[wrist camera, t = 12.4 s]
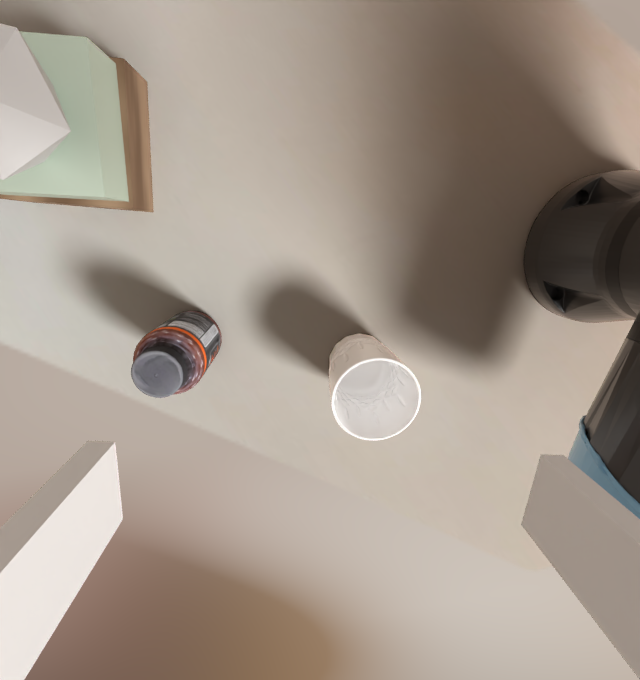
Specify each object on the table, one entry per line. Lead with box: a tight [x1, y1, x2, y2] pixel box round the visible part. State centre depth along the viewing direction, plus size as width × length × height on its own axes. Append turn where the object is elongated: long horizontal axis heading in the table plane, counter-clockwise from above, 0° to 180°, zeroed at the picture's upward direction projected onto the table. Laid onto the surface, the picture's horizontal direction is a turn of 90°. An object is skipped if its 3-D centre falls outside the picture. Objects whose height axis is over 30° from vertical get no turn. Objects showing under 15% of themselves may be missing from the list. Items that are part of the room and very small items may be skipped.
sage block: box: [0, 31, 129, 202], centre depth 27 cm, size 10×10×4 cm
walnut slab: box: [0, 57, 153, 212], centre depth 31 cm, size 11×11×5 cm
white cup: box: [329, 333, 421, 440], centre depth 36 cm, size 8×8×10 cm
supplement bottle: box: [131, 311, 222, 398], centre depth 34 cm, size 6×6×11 cm
